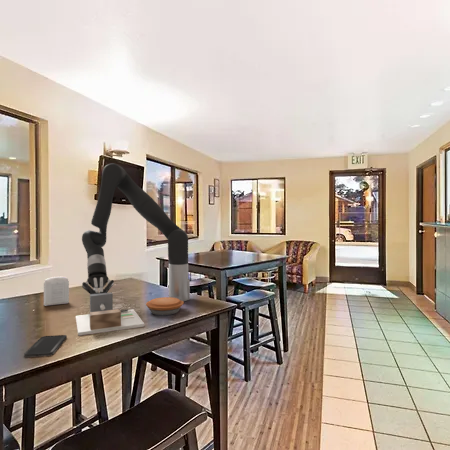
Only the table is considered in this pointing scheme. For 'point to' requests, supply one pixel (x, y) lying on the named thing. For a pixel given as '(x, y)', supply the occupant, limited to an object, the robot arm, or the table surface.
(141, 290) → the table surface
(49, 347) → the phone
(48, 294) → the photo printer
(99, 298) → the gauge carriage
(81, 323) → the base
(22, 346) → the table surface
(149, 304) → the pie
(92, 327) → the brown wooden block
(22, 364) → the table surface
